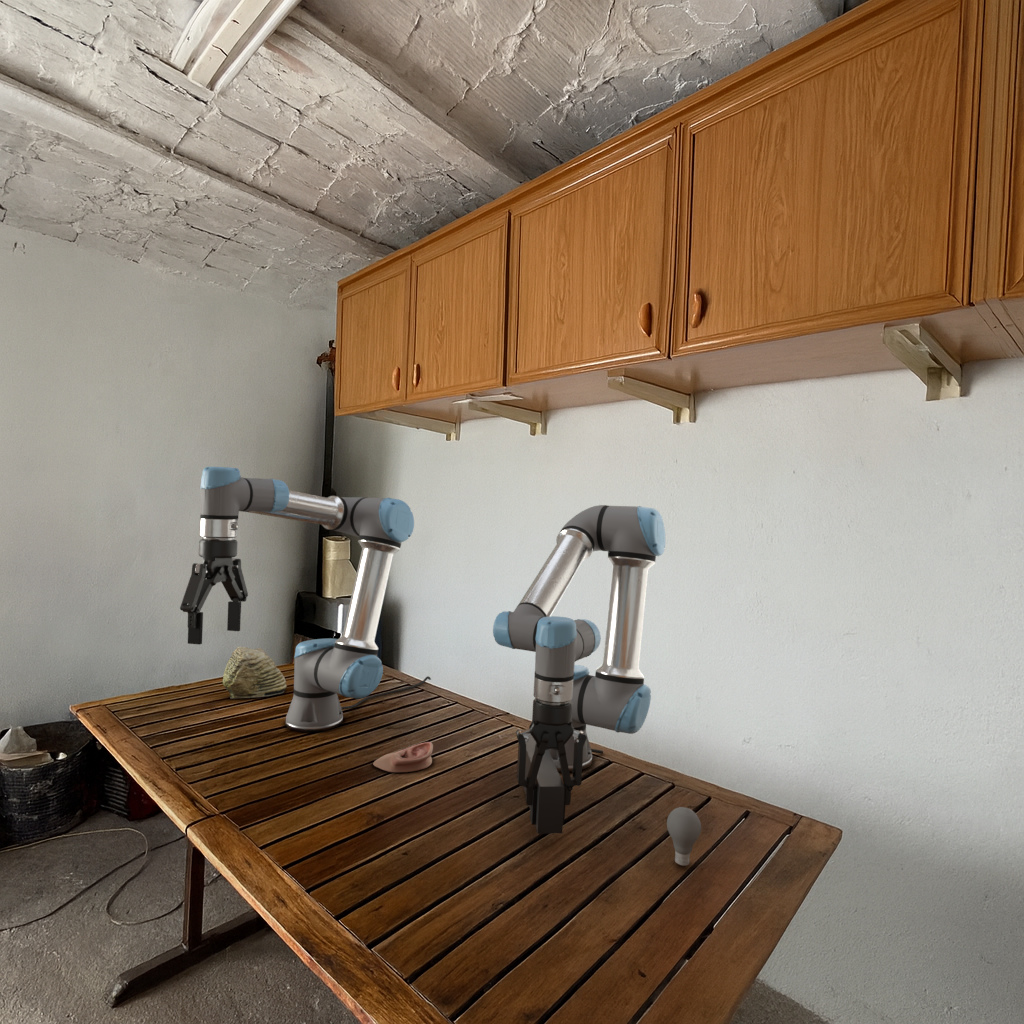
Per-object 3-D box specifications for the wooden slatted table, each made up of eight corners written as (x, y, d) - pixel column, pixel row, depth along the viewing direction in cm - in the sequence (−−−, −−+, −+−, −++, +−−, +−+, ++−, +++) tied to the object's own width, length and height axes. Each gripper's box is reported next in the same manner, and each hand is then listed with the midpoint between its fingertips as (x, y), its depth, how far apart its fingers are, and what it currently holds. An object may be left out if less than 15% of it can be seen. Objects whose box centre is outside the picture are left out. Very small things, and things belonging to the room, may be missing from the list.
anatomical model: (368, 752, 148) (387, 734, 159) (367, 769, 148) (386, 750, 159) (422, 759, 145) (438, 741, 156) (421, 776, 145) (437, 757, 156)
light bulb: (660, 854, 117) (663, 800, 117) (692, 854, 117) (694, 801, 117) (671, 873, 111) (674, 817, 111) (704, 873, 111) (707, 817, 111)
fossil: (218, 695, 195) (220, 647, 195) (278, 685, 208) (279, 640, 207) (228, 703, 189) (230, 653, 188) (289, 692, 201) (290, 645, 201)
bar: (517, 767, 146) (519, 730, 146) (537, 767, 147) (539, 730, 147) (537, 833, 117) (539, 786, 117) (562, 833, 118) (564, 786, 118)
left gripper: (197, 543, 123) (193, 651, 124) (265, 536, 148) (262, 627, 148) (162, 541, 124) (158, 648, 125) (236, 535, 149) (233, 624, 149)
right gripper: (508, 705, 116) (502, 831, 116) (603, 706, 118) (597, 830, 118) (504, 692, 123) (498, 811, 123) (593, 694, 125) (587, 811, 126)
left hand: (215, 637), depth 137 cm, fingers open, 13 cm apart
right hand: (546, 820), depth 121 cm, fingers closed on bar, 5 cm apart
